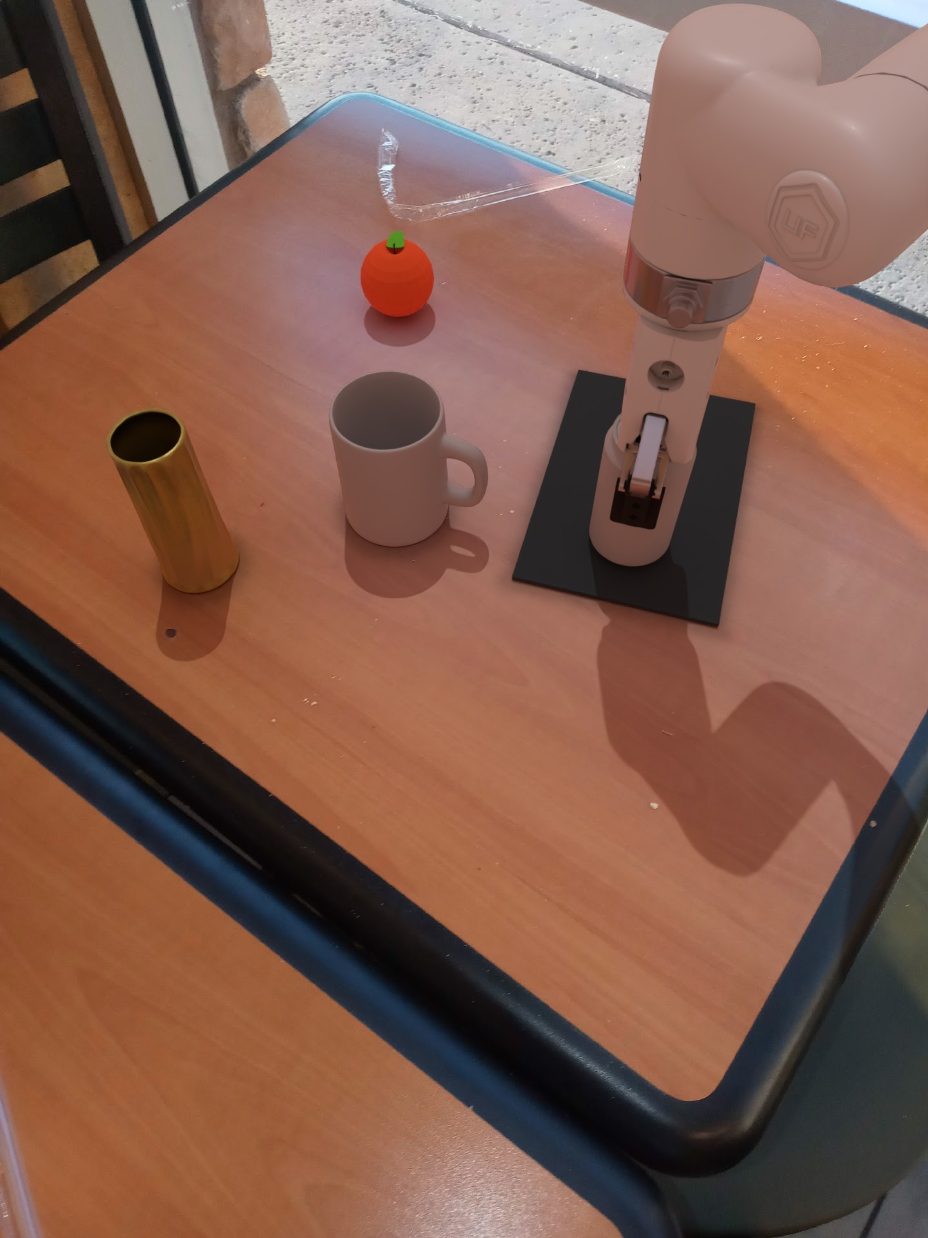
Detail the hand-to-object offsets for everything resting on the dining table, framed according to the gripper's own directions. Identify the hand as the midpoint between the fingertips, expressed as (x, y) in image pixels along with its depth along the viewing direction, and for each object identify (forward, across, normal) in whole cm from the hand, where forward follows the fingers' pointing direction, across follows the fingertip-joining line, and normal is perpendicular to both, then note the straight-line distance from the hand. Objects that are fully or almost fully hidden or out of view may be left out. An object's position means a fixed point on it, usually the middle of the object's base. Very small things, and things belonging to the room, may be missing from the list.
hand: (644, 471), depth 65 cm
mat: (+8, +6, 0) cm, 10 cm away
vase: (+9, -11, +32) cm, 35 cm away
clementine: (+8, +23, +27) cm, 36 cm away
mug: (+9, -2, +17) cm, 19 cm away
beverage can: (+8, 0, 0) cm, 8 cm away
